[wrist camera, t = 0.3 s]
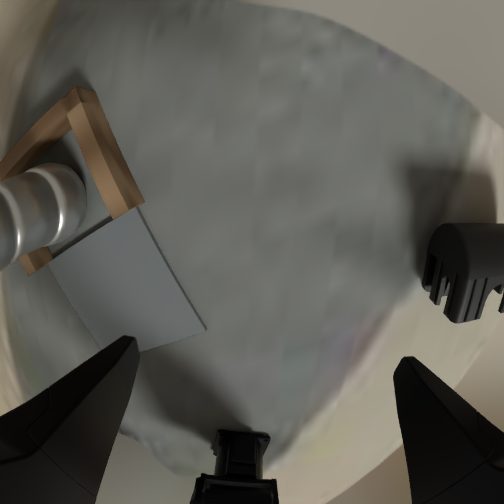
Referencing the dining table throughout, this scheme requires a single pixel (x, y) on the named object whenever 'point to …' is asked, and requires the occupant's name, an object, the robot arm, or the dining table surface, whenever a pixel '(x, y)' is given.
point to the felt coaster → (125, 286)
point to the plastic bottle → (39, 209)
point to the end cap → (465, 268)
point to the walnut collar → (92, 147)
